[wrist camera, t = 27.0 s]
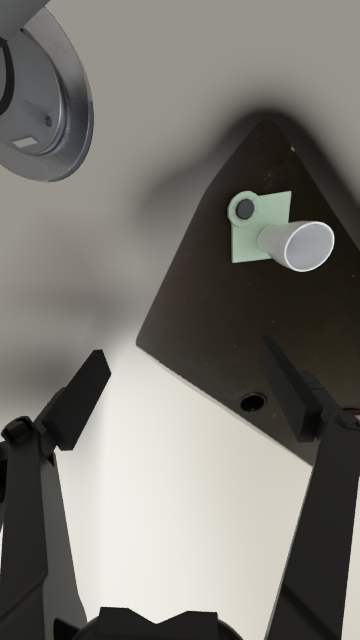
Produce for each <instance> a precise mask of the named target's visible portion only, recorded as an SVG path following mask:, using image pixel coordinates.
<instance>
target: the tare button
mask: <svg viewBox="0 0 360 640" xmlns="http://www.w3.org/2000/svg"><path fill="white" fill-rule="evenodd" d="M254 209H255V207H254V204H253V202H252V201H250V200H245V201H242V202H241V203H239V205H238V206H237V209H236V213H237V215H238V217H239V218H242V219H246V218H249V217H250V216H251V215H252V214H253V212H254Z"/></svg>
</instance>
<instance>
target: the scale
mask: <svg viewBox="0 0 360 640" xmlns="http://www.w3.org/2000/svg"><path fill="white" fill-rule="evenodd" d="M290 199H291V191H288V192H281V193H275V194H268V195H262V196H257V195H256V194H255V193H253V192H251V191H245V192H240V193H238V194H237V195H236V196H235V197H233V198H232V199H231V201H230V203H229V206H228V208H227V212H228V218H229V220H230V222H231V250H232V262H233V263H236V262H244V261H252V260H260V259H268V258H271V257H270V256H269V255H267V254H266V253H264V252H262V251H261V250H260V249H259V248H258V245H257V239H258V236H259V234H260V232H261V231H262V230H263V229H264V228H266V227H268V226H270V225H280V224H285V223H288V217H289V208H290ZM245 200H250V201H252V202H253V204H254V207H255V209H254V212H253V214H252V215H251V216H250V217H249V218H246V219H242V218H239V217H238V215H237V213H236V209H237V206H238V205H239V203H241V202H242V201H245Z"/></svg>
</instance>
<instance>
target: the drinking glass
mask: <svg viewBox="0 0 360 640" xmlns="http://www.w3.org/2000/svg"><path fill="white" fill-rule="evenodd" d="M257 245H258V248H259V249H260V250H261V251H262V252H264V253H266V254H267V255H269V256H270V257H271V258H273V259H274V260H275V261H277V262H278V263H279V264H281V265H283V266H285V267H287V268H290V269H292V270H295V271H301V272H303V271H309V270H312V269H314V268H316V267H318V266H320V265H321V264H322V263H323V262H324V261H325V260H326V259H327V258H328V256H329V255H330V253H331V251H332V249H333V245H334V234H333V232H332V230H331V228H330V227H329V226H328V225H326V224H325V223H322V222H316V221H297V222H291V223H285V224H280V225H270V226H268V227H266V228H264V229H263V230H262V231H261V232H260V234H259V236H258V239H257Z"/></svg>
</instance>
